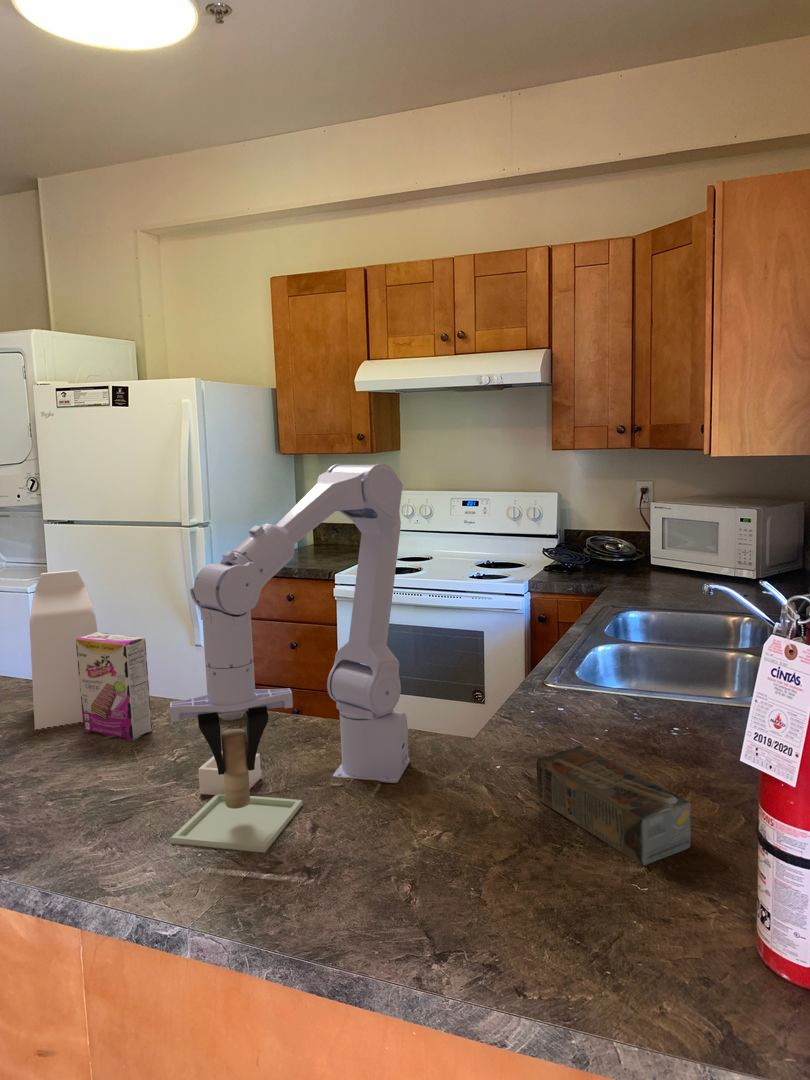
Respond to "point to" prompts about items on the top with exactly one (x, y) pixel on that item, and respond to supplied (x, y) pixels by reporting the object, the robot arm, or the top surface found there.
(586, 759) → the beverage carton
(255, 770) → the open box
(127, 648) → the candy bar box
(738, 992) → the top surface
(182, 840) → the tray
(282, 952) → the top surface
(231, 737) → the dowel
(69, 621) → the milk
